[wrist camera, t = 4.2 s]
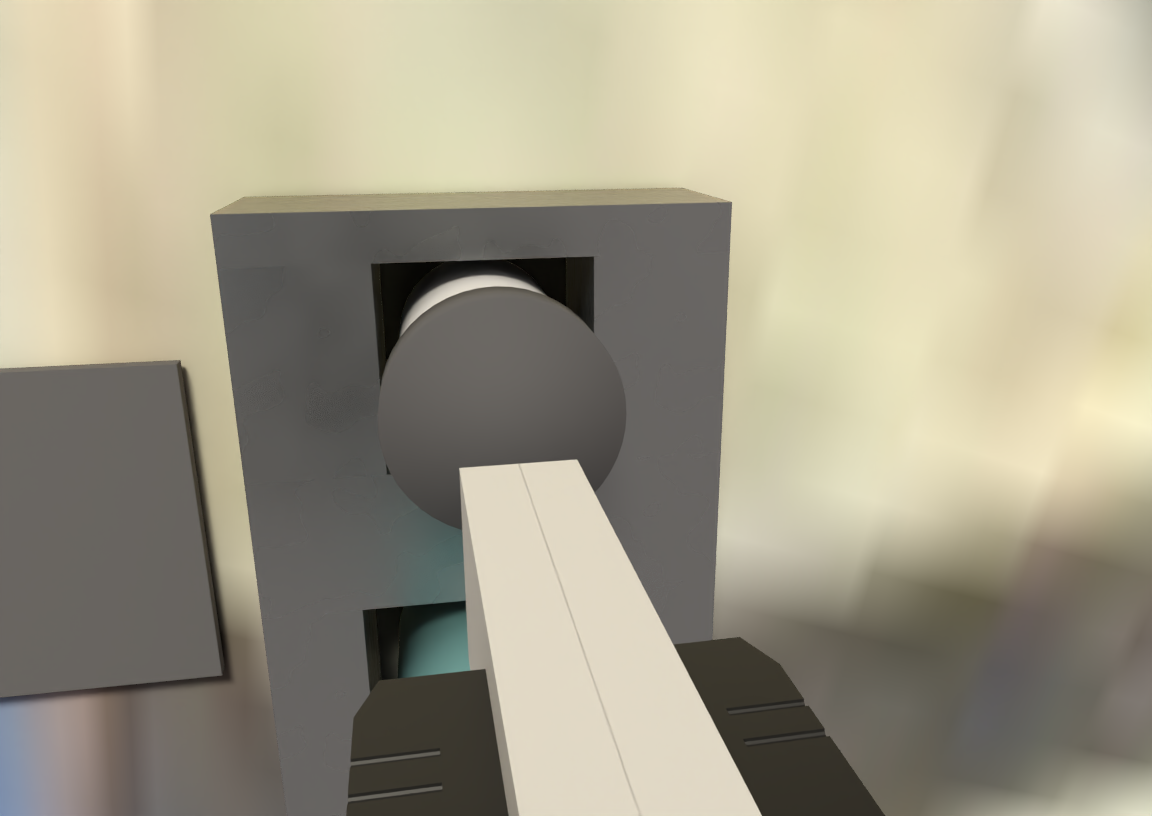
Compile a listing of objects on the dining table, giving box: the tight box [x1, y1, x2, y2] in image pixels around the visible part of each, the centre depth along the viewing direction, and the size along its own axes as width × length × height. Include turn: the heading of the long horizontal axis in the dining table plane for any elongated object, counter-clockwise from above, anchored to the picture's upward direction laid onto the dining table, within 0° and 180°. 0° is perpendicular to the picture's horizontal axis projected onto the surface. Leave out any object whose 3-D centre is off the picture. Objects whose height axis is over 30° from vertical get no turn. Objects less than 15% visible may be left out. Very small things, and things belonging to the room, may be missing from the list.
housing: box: [210, 188, 732, 816], centre depth 24 cm, size 17×11×4 cm, turn 1°
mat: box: [0, 360, 225, 697], centre depth 24 cm, size 9×9×1 cm
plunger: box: [378, 259, 627, 530], centre depth 20 cm, size 5×5×7 cm
